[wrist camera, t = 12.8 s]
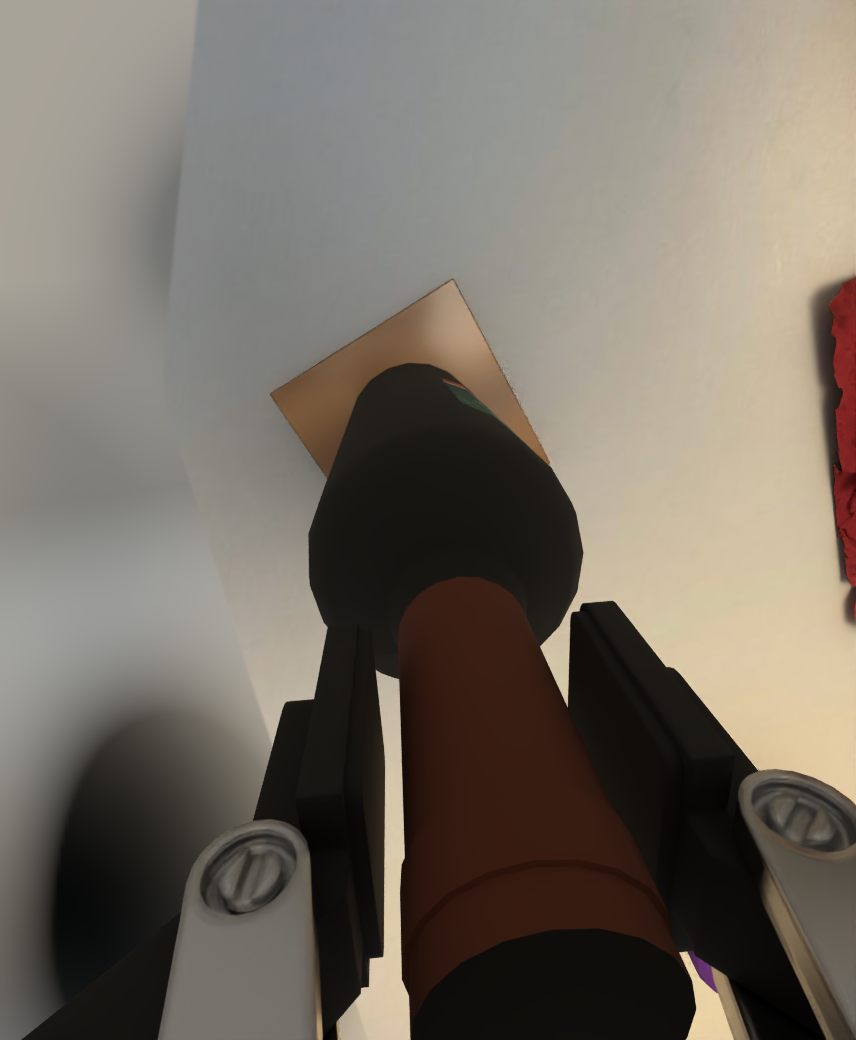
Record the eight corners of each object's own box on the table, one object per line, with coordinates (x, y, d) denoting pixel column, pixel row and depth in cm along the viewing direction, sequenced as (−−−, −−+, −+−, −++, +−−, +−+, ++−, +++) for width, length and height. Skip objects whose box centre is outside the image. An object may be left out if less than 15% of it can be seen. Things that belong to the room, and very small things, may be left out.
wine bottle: (362, 349, 32) (170, 621, 4) (493, 378, 33) (1115, 763, 5) (340, 478, 34) (120, 1235, 6) (462, 501, 35) (756, 1242, 7)
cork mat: (271, 393, 33) (269, 394, 32) (452, 278, 31) (453, 278, 31) (382, 556, 37) (382, 559, 36) (548, 461, 35) (550, 463, 35)
